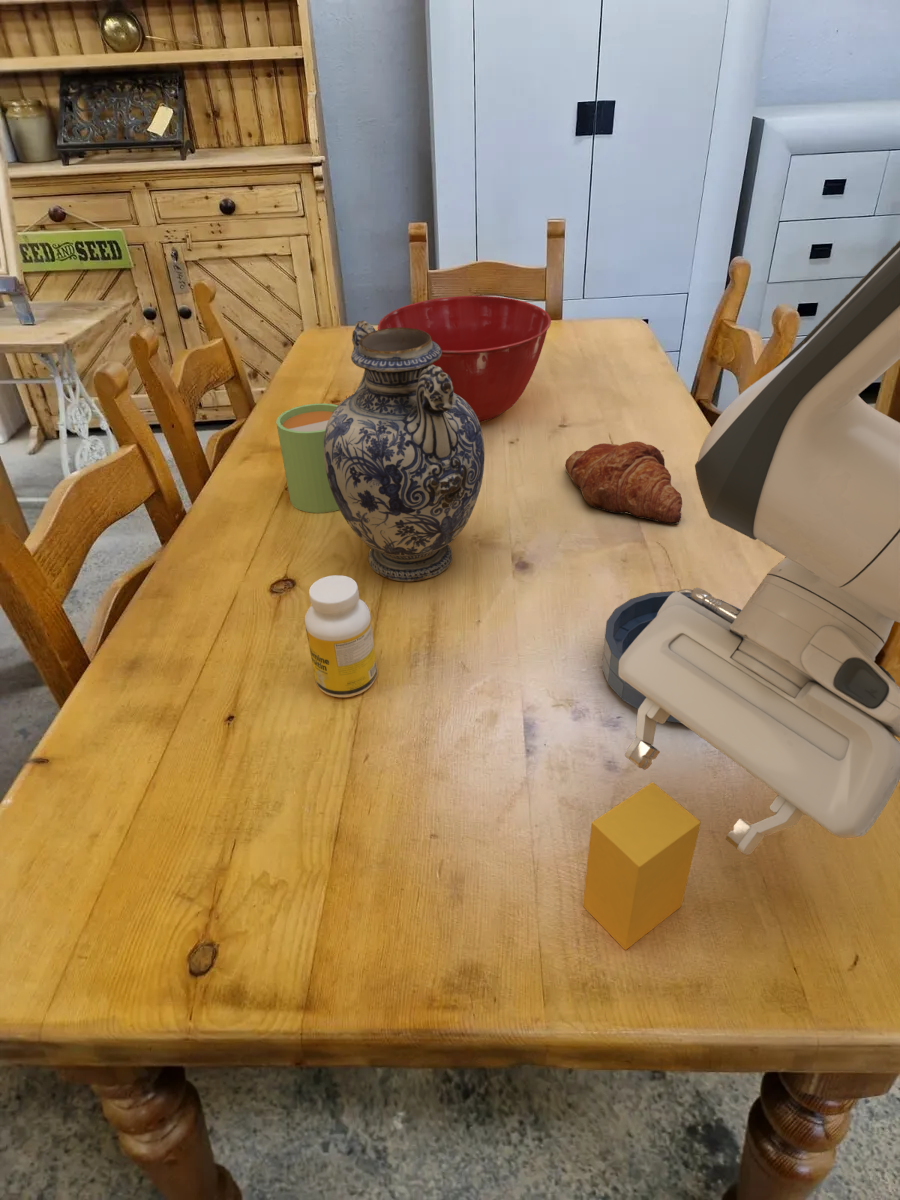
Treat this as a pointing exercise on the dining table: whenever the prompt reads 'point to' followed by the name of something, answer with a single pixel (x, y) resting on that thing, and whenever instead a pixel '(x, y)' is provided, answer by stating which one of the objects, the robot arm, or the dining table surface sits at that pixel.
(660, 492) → the pastry
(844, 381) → the robot arm
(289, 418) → the mug
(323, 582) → the pill bottle
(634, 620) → the bowl
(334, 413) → the decorative vase
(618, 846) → the yellow rectangular block
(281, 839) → the dining table surface
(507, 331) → the mixing bowl
